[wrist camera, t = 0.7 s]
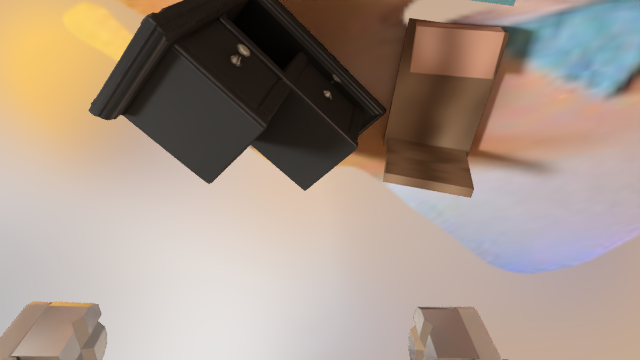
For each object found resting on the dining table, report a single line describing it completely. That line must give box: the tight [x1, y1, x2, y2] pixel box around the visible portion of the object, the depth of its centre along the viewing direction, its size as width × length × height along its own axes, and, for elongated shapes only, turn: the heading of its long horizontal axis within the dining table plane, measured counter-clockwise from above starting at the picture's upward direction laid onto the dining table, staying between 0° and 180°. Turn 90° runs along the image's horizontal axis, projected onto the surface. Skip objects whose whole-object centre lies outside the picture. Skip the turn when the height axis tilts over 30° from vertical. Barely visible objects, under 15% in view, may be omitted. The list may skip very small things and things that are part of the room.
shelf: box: [383, 18, 510, 198], centre depth 46 cm, size 11×17×10 cm, turn 175°
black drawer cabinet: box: [89, 0, 386, 190], centre depth 43 cm, size 23×11×24 cm, turn 47°
